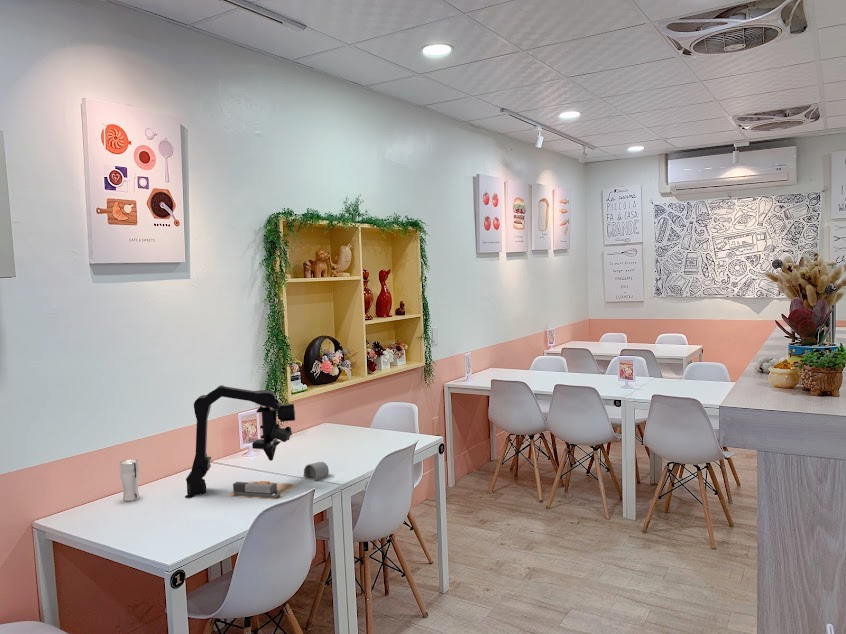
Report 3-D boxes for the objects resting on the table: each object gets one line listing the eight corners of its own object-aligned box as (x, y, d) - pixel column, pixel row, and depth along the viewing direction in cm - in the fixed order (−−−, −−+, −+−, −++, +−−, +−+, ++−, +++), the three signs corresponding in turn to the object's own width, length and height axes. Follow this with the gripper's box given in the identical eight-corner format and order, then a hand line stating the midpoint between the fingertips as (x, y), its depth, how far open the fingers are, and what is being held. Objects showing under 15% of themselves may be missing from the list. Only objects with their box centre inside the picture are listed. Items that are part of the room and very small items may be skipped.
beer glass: (133, 502, 252) (131, 464, 251) (117, 501, 254) (115, 464, 253) (144, 496, 259) (142, 459, 258) (129, 495, 261) (126, 458, 260)
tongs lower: (281, 495, 252) (281, 483, 251) (277, 498, 248) (276, 486, 248) (237, 492, 256) (237, 480, 256) (232, 495, 253) (232, 483, 253)
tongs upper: (273, 491, 252) (273, 484, 252) (270, 493, 249) (270, 486, 249) (236, 488, 256) (236, 481, 256) (233, 491, 253) (232, 483, 253)
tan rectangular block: (257, 493, 255) (256, 483, 255) (261, 490, 258) (260, 480, 257) (266, 493, 254) (266, 483, 254) (270, 491, 257) (269, 481, 256)
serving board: (225, 499, 253) (225, 496, 253) (249, 483, 270) (249, 481, 270) (277, 502, 248) (276, 499, 247) (297, 486, 265) (297, 484, 265)
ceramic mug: (330, 478, 274) (329, 461, 274) (316, 484, 267) (315, 466, 267) (312, 475, 280) (311, 457, 280) (298, 480, 274) (297, 462, 273)
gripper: (276, 428, 250) (278, 468, 251) (297, 417, 268) (299, 454, 269) (250, 427, 253) (252, 467, 254) (273, 416, 271) (275, 453, 272)
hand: (271, 460), depth 262 cm, fingers closed
